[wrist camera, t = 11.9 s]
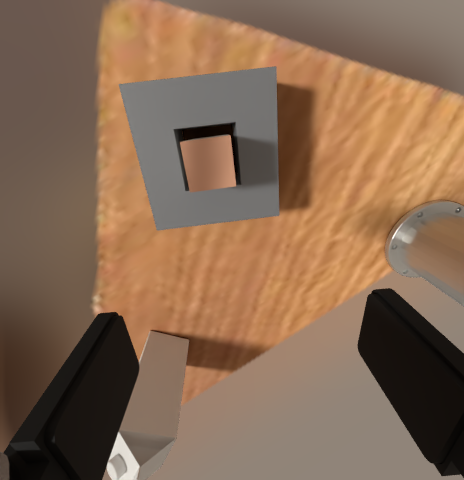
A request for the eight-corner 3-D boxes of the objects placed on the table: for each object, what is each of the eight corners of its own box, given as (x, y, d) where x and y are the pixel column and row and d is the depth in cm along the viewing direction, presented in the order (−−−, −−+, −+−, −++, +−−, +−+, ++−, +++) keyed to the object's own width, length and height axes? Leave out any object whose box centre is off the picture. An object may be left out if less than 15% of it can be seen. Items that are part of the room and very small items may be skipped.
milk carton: (189, 338, 42) (171, 483, 25) (178, 364, 44) (154, 511, 27) (150, 329, 40) (100, 476, 23) (140, 356, 43) (90, 507, 26)
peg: (225, 134, 28) (230, 135, 18) (229, 168, 30) (236, 186, 20) (192, 138, 28) (179, 142, 18) (198, 172, 30) (189, 192, 20)
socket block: (263, 80, 26) (276, 66, 21) (268, 201, 32) (279, 215, 27) (139, 94, 26) (118, 84, 20) (167, 213, 32) (157, 230, 26)
